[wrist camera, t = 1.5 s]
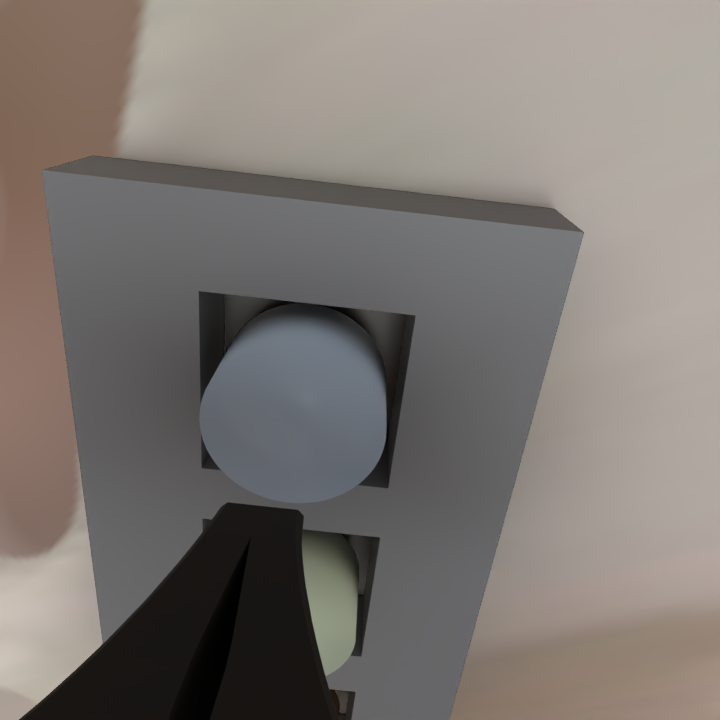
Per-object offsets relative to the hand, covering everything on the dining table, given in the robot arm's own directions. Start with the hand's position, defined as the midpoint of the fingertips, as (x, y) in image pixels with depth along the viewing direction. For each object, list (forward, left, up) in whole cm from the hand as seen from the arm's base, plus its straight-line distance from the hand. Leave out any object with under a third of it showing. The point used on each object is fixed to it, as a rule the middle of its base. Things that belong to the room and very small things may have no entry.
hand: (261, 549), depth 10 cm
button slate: (0, 0, -6) cm, 6 cm away
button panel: (-7, 0, -8) cm, 11 cm away
